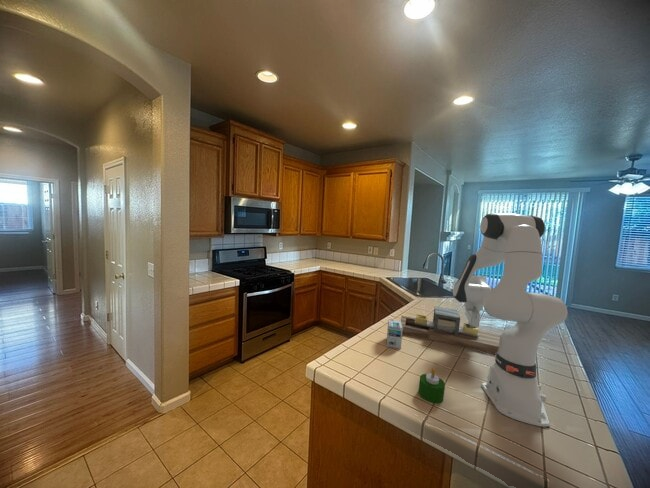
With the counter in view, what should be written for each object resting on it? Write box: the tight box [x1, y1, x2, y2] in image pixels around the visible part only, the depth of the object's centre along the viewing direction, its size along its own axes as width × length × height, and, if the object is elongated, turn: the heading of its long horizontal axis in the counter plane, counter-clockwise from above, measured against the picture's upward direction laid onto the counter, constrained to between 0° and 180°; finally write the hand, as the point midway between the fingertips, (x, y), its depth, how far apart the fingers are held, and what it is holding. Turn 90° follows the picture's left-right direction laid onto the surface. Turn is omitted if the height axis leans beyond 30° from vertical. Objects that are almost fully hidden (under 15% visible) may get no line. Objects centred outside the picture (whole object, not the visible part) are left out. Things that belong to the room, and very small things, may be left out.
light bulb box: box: [386, 318, 403, 350], centre depth 129 cm, size 11×7×11 cm, turn 169°
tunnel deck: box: [400, 306, 501, 355], centre depth 142 cm, size 18×54×14 cm, turn 69°
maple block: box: [438, 317, 455, 328], centre depth 143 cm, size 6×9×6 cm, turn 68°
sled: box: [415, 313, 479, 337], centre depth 143 cm, size 9×32×4 cm, turn 69°
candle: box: [417, 368, 446, 404], centre depth 91 cm, size 8×8×10 cm
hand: (470, 329), depth 138 cm, fingers closed
